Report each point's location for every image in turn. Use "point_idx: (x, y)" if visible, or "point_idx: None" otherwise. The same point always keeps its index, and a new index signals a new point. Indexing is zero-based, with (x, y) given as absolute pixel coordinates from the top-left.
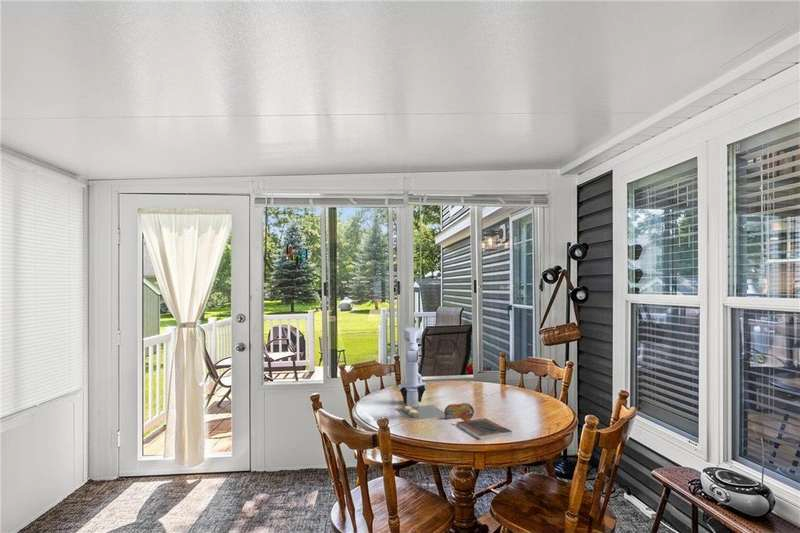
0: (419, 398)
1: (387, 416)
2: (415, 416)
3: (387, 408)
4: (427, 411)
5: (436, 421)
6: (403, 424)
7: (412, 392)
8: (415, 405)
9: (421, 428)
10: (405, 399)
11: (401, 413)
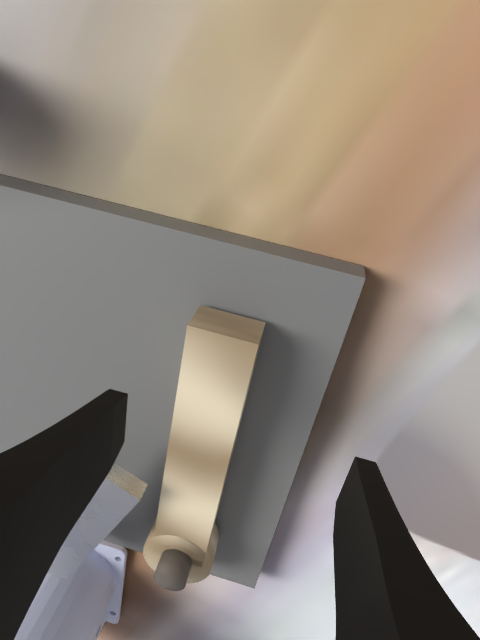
0: (98, 443)
1: None
2: (240, 319)
3: (259, 630)
4: (42, 393)
5: (68, 157)
6: (434, 276)
7: None
8: (124, 484)
9: (364, 10)
10: (394, 517)
11: (282, 482)
